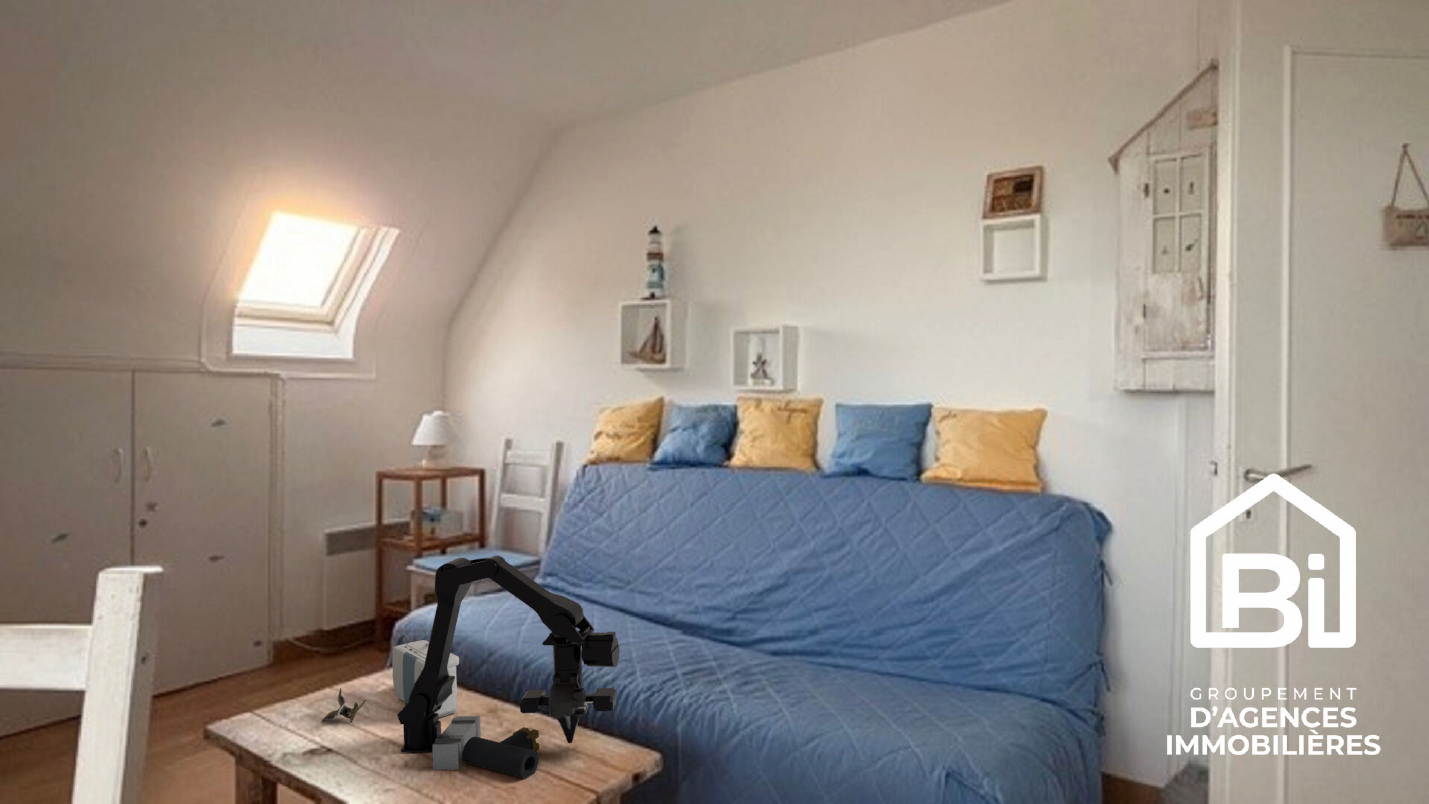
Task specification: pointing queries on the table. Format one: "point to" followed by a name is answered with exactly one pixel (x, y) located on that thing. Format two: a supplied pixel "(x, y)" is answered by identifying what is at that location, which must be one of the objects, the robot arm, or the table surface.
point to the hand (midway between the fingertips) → (570, 742)
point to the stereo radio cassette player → (410, 666)
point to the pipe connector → (505, 753)
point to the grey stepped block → (454, 742)
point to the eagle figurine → (344, 709)
